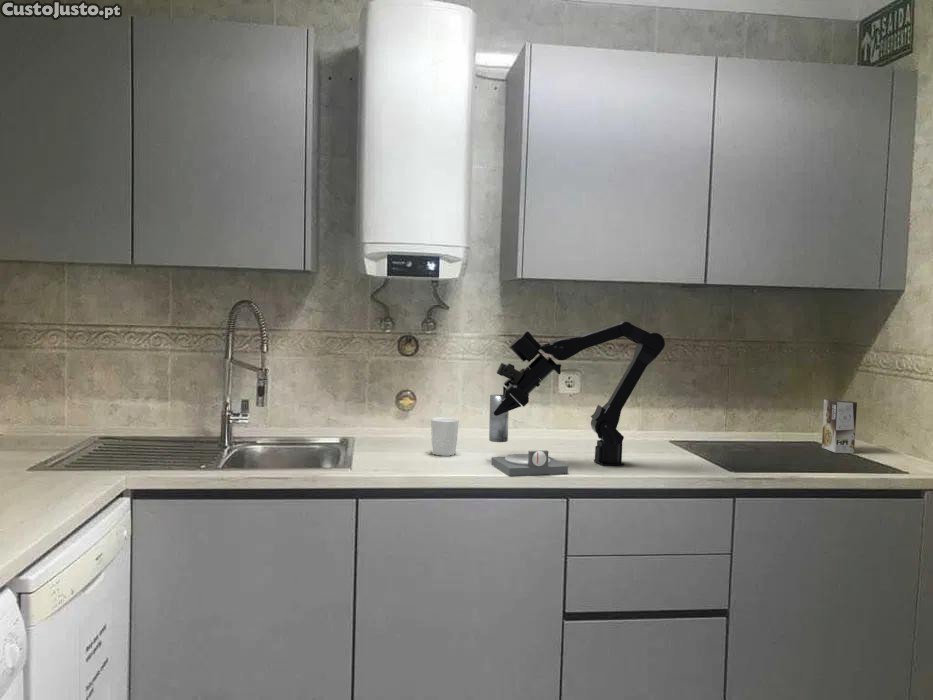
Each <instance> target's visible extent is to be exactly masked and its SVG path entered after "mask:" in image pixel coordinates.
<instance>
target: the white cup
mask: <svg viewBox="0 0 933 700" xmlns="http://www.w3.org/2000/svg"><path fill="white" fill-rule="evenodd" d="M430 419H431V420H430V422H431V423H430V427H431V445H432V446H431V447H432V448H431V449H432V453H431V454H432V455H434V454H436V455H435V456H438V455H442V456H441V457H451V456H450V455H452V456H455V455H456V454H457V445H458V434H459V422H460V421H459V418H457V417H456V418H455V417H444V416H443V417H442V416H440V417H439V416H438V417H432V418H430ZM454 454H455V455H454Z"/></svg>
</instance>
